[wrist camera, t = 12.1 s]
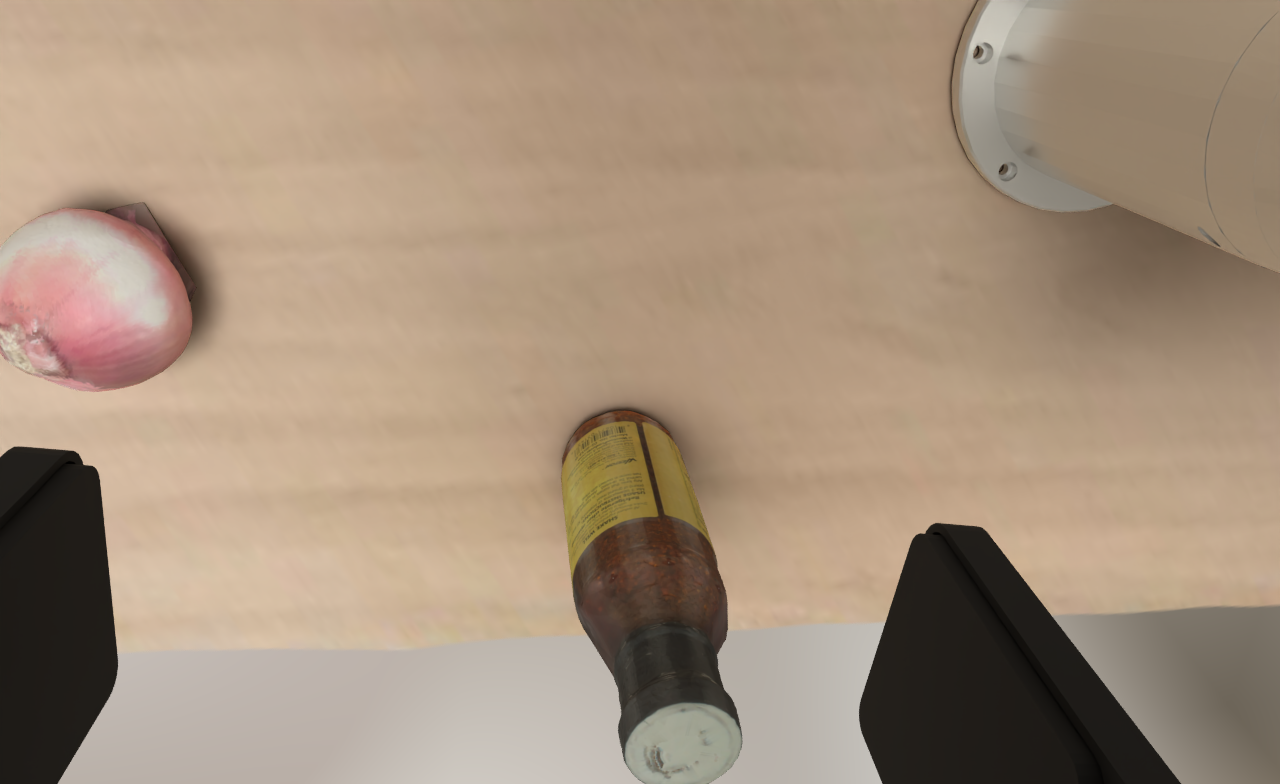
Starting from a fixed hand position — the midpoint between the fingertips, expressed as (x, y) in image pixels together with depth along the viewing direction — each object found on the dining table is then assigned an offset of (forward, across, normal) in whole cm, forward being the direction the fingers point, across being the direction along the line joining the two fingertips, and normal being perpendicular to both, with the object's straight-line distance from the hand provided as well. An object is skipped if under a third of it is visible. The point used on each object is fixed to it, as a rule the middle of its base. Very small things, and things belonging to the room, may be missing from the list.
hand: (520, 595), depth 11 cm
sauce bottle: (+34, -6, +16) cm, 38 cm away
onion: (+34, +18, +9) cm, 39 cm away
